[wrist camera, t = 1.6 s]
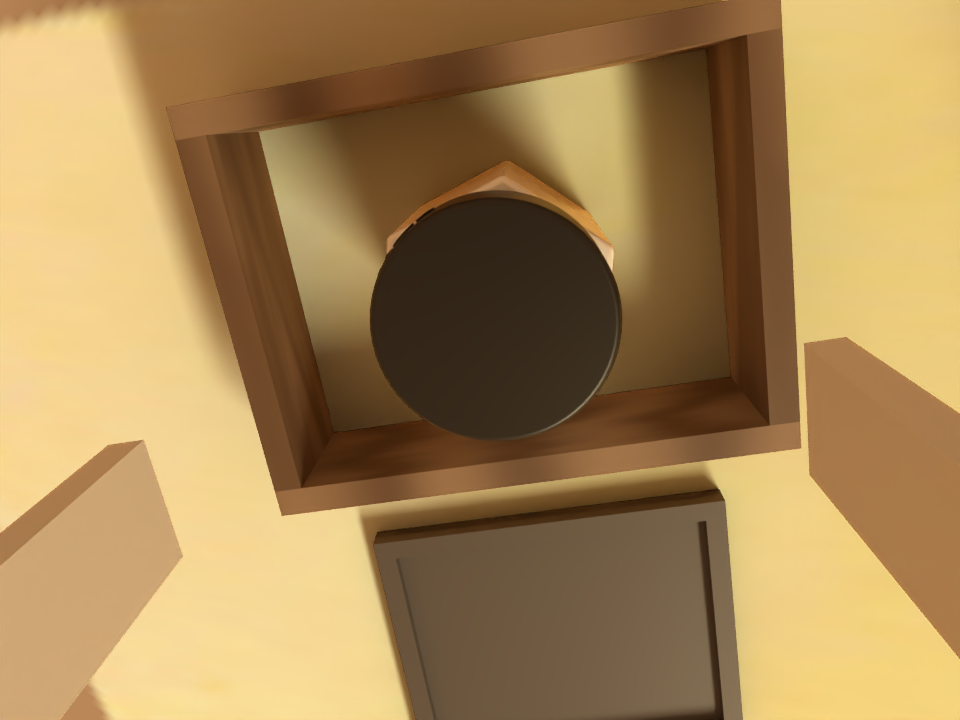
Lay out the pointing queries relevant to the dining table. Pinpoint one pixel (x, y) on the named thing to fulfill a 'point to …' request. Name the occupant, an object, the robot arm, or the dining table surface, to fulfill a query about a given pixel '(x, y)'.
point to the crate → (606, 418)
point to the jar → (497, 308)
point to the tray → (568, 613)
